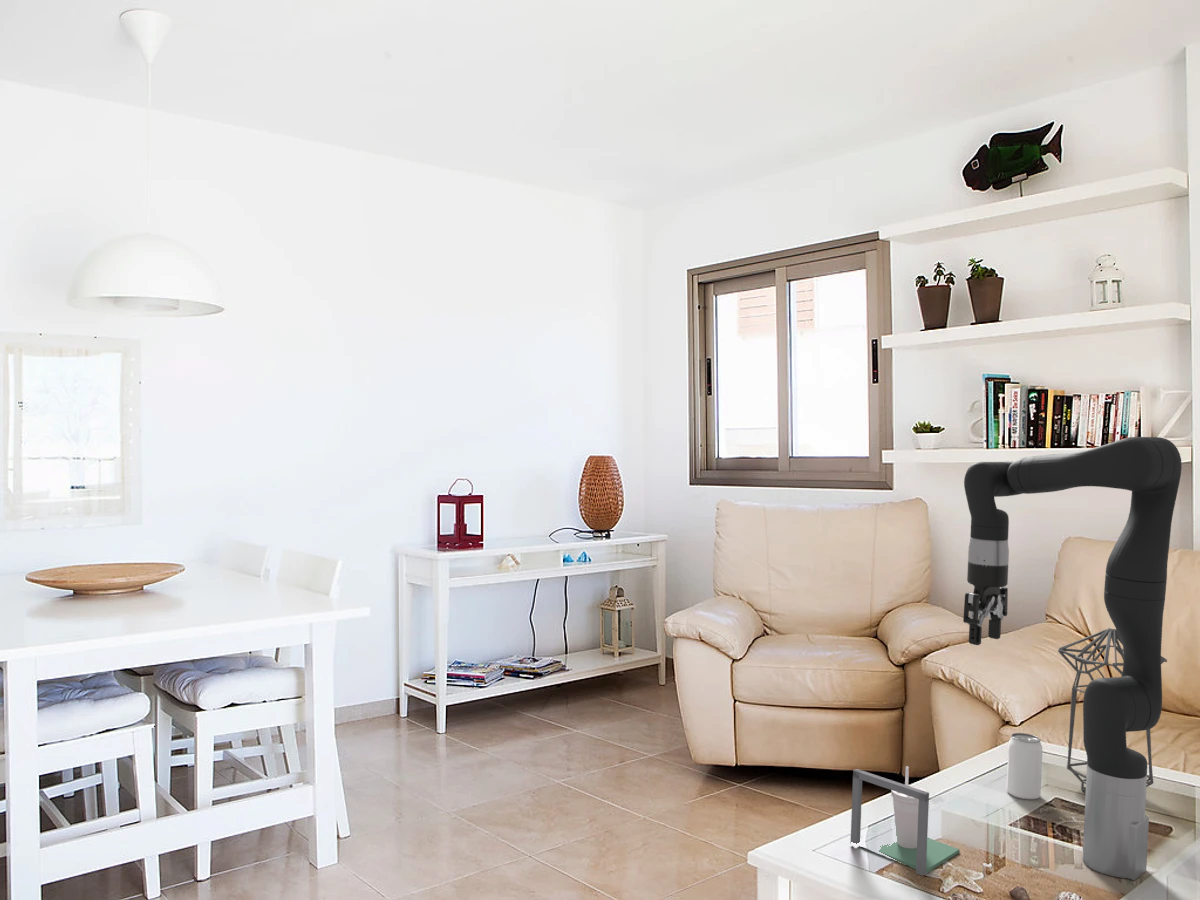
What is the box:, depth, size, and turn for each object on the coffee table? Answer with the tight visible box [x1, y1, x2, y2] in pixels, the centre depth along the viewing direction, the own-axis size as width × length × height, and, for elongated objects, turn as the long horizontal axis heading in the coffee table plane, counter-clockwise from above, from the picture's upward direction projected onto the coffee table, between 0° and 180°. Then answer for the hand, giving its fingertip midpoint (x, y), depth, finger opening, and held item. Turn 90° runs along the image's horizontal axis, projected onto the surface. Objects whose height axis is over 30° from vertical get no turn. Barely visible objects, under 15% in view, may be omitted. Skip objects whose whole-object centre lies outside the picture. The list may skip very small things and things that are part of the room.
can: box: [1006, 732, 1043, 801], centre depth 198 cm, size 6×6×12 cm
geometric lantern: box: [1057, 627, 1168, 794], centre depth 199 cm, size 16×16×35 cm
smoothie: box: [890, 765, 927, 849], centre depth 172 cm, size 6×6×14 cm
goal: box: [850, 768, 960, 877], centre depth 171 cm, size 14×13×14 cm
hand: (984, 641), depth 191 cm, fingers open, 8 cm apart
